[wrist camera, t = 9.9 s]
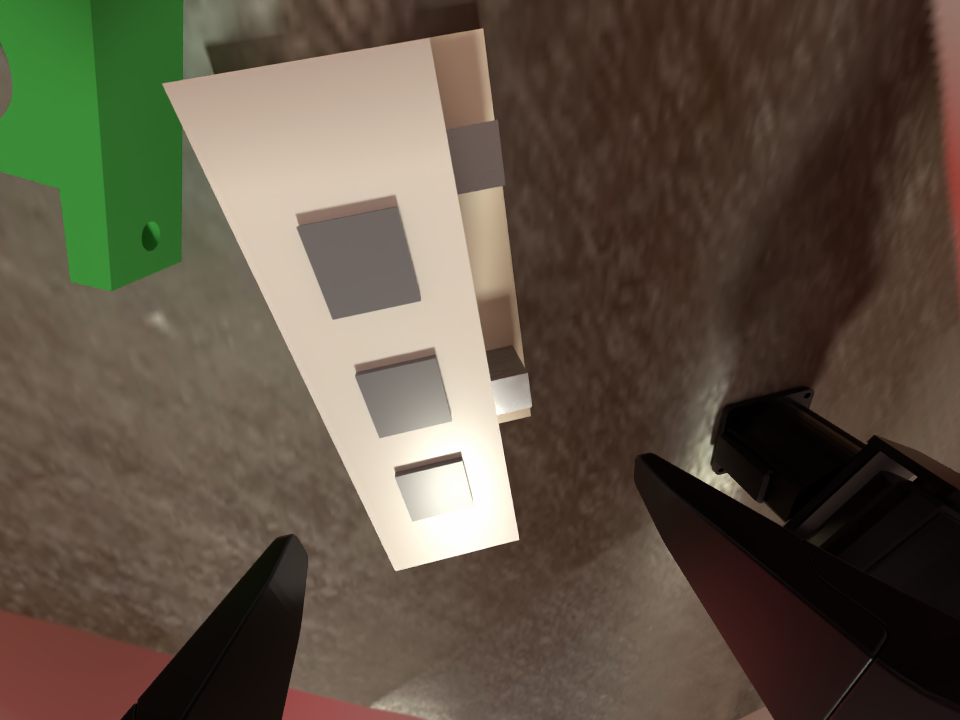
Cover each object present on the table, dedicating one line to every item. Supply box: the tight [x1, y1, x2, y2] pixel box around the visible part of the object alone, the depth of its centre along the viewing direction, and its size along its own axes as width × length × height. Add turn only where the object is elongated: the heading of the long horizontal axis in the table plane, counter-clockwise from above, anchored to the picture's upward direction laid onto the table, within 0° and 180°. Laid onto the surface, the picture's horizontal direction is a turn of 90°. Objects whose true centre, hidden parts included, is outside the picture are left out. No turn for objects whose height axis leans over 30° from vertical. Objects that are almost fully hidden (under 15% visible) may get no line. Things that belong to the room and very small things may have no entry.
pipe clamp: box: [0, 0, 183, 291], centre depth 12 cm, size 11×4×5 cm, turn 161°
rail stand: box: [208, 29, 532, 423], centre depth 17 cm, size 10×18×4 cm, turn 10°
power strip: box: [162, 38, 519, 571], centre depth 12 cm, size 4×14×6 cm, turn 10°
